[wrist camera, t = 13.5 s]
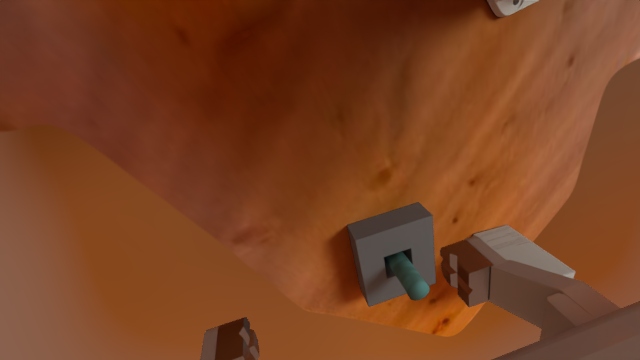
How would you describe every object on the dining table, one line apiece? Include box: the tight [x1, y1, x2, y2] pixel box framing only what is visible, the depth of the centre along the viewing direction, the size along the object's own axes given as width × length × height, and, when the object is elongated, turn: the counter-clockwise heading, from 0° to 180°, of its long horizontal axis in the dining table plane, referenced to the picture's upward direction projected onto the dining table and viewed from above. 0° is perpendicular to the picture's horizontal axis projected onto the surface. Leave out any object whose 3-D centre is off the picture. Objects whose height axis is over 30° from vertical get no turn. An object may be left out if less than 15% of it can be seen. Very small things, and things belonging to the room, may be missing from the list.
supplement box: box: [473, 225, 575, 279], centre depth 49 cm, size 7×7×13 cm
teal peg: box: [384, 251, 429, 300], centre depth 45 cm, size 3×3×10 cm
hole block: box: [347, 202, 436, 307], centre depth 47 cm, size 12×14×4 cm
